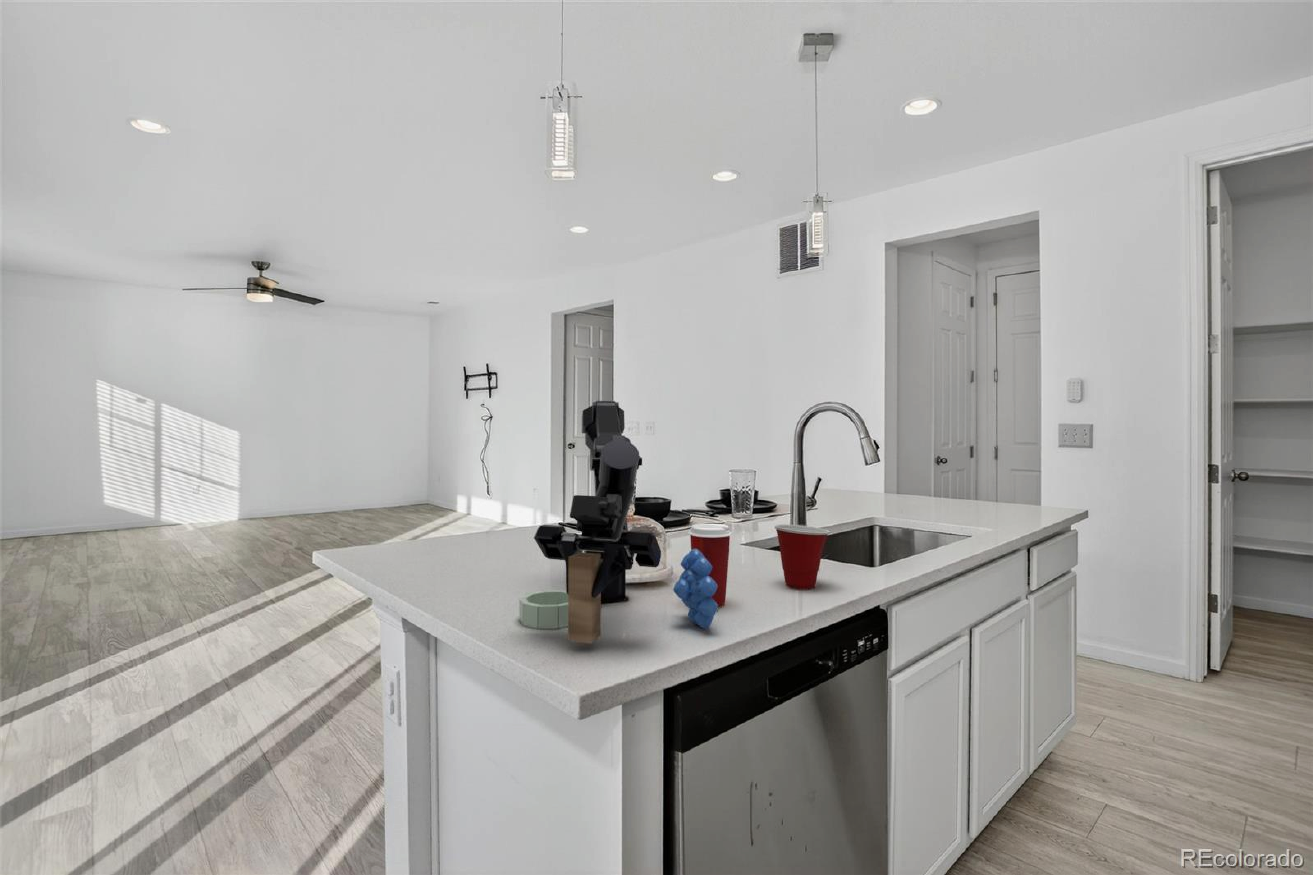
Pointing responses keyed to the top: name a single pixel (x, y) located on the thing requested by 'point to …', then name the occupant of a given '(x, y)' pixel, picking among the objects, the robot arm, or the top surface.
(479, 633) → the top surface
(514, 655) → the top surface
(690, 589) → the grapes
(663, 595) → the top surface
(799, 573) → the plastic cup
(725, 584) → the paper cup
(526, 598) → the pale green faceted bowl
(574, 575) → the layered tan brick
